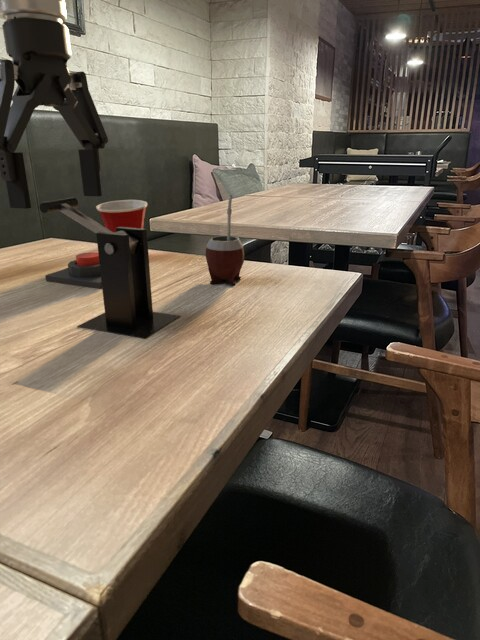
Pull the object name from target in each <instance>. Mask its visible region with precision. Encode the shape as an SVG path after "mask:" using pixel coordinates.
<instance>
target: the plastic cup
mask: <svg viewBox="0 0 480 640" xmlns="http://www.w3.org/2000/svg"><path fill="white" fill-rule="evenodd" d="M147 207H148V202H147V201H145V200H141V199H121V200H111V201H106V202H103V203H99V204H98V205H96V206H95V208H96V211H98V212H99V214H100V217H101V220H102V222H103V224H104V227H105V228H107V229H109V230H110V231H112V232H113V233H114V232H116V229H115V228H117V227H129V228H142V229H144V225H145V218H146V210H147Z"/></svg>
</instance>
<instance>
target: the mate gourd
mask: <svg viewBox="0 0 480 640" xmlns="http://www.w3.org/2000/svg"><path fill="white" fill-rule="evenodd" d="M232 201H233V195H232V194H230V195H228V203H227V209H226V215H227V229H226V233H227V234H226V235H218V236H213V237H211V238H210V239H209V240H208V242H207V243H206V248H205V260H206V264H207V268H208V273H209V276H210V281H209V284H210V285H217V284H222V283H223V284H227V285H229V286H231V287H234V286H236V282H235V281H241V280H242V279H241V278H242V277H241V276H240V273H241V270H242V268H243V265H244V263H245V256H246V254H245V248H244V244H243V241H242V240H241V239H240V237H237V236H233V235H231V225H232V224H231V221H232V211H233V210H232Z"/></svg>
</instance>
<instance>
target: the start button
mask: <svg viewBox="0 0 480 640" xmlns="http://www.w3.org/2000/svg"><path fill="white" fill-rule="evenodd" d="M75 260H76V261H77V265H79V266H92V265H98V264H100V263H99V254H98V252H95V251H90V252H81V253H79V254H76V255H75Z"/></svg>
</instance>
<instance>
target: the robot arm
mask: <svg viewBox="0 0 480 640" xmlns="http://www.w3.org/2000/svg"><path fill="white" fill-rule="evenodd" d="M0 17H2V18H3V19H4V20H5V21H4V22H3V24H1V25H2V26H1V27H2V33H3V40H4V45H5V51H6V54H7V56H8V57H10V58H11V59H12V60H10V59H0V178H1V179H2V181H5V184H6V185H5V186H6V190H7V197H8V202H9V203H8V204H9V208H10V209H22V210H23V209H26V210H28V209H32V203H31V197H30V191H29V185H28V178H27V172H26V166H25V160H24V154H23V153H24V152H19V151H18V152H16V151H17V148H18V146H19V144H20V141H21V140H22V137H23V135H24V133H25V131H26V129H27V127H28V124H29V122H30V120H31V118H32V115H33V113H34V111H35V109H36V108H38V107H40V106H41V107H42V106H43V107H49V108H50V107H51V108H53V109H54V110H55V111H57V112H58V113H59V114H60V115H61V117H62V118H63V121H65V123H66V125H67V126H68V127H69V129H70V130H71V132H72V133H73V135H74V137H75V138H76V139H77V141H78V142H79V144H80V146H81V147H82V148H83V149H82V148H80V149H77V150H78V157H79V166H80V167H79V168H80V175H81V184H82V192H83V197H102V196H103V195H102V194H103V193H102V185H101V176H100V172H101V162H100V152H99V151H100V150H101V149H102V150H103V149H105V147H106V144H107V143H108V142H109V138H108V135H107V132H106V130H105V127H104V125H103V123H102V120H101V118H100V115H99V112H98V110H97V108H96V105H95V103H94V100H93V97H92V94H91V92H90V89H89V85H88V79H87V75H86V72H84V71H69V68H68V61H69V60H70V59H71V58H72V47H71V38H70V30H69V27H67V25H66V24H65V22H66V20H68V17H67V9H66V2H65V0H0ZM15 84H16V85H17V86H16V89H15Z"/></svg>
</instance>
